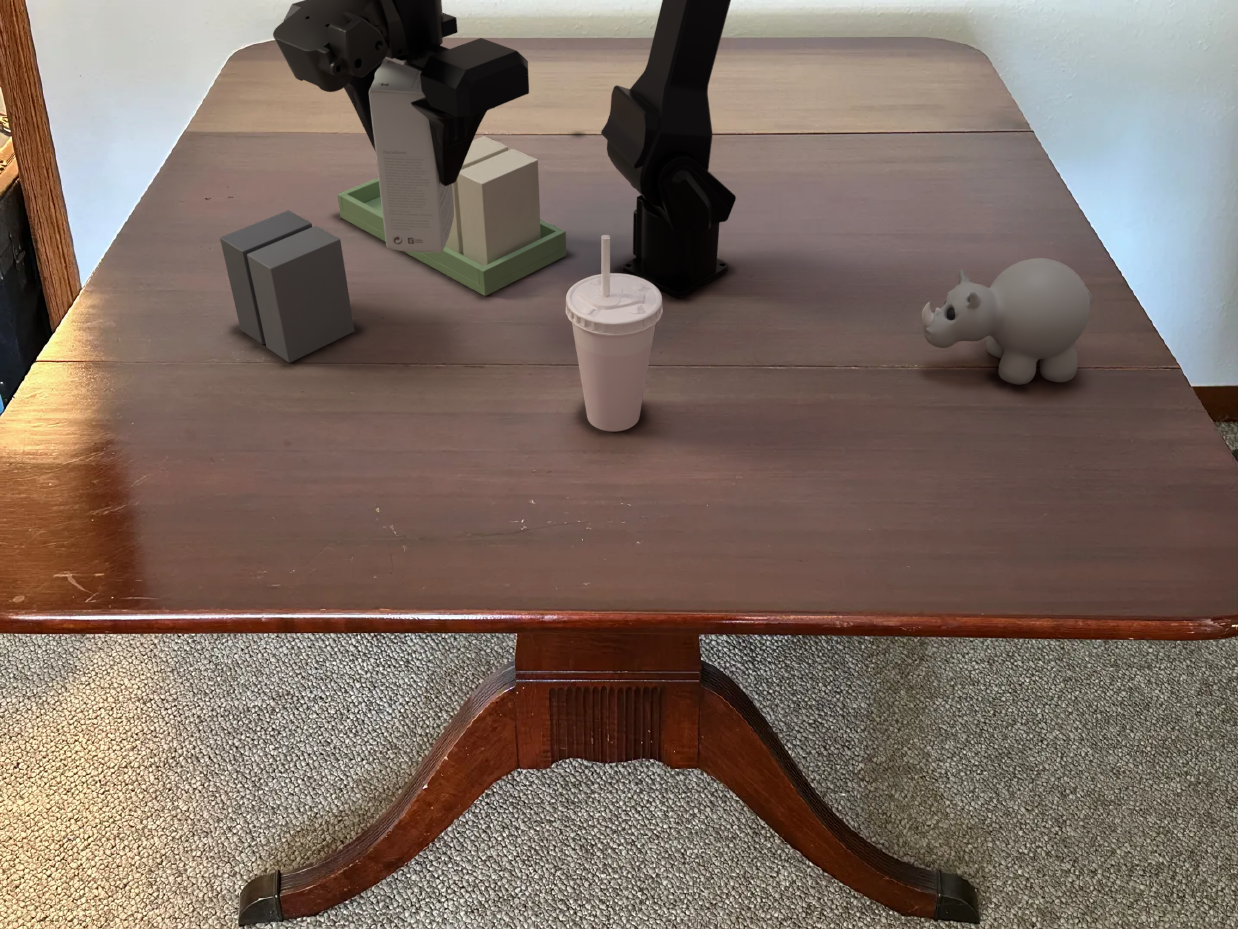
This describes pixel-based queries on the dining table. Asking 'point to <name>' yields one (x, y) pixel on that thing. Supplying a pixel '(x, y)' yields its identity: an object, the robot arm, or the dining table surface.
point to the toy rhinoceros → (1018, 319)
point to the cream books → (494, 202)
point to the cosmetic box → (407, 164)
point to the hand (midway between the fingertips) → (415, 168)
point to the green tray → (367, 214)
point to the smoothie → (613, 341)
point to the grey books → (288, 284)
